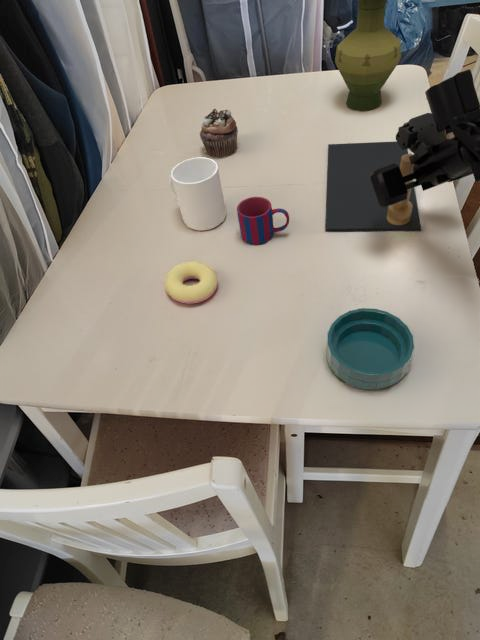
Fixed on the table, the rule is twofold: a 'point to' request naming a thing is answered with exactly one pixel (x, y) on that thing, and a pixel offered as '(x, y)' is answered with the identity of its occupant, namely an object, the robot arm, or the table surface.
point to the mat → (361, 188)
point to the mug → (198, 193)
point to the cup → (258, 220)
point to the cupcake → (219, 134)
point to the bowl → (369, 348)
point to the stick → (403, 209)
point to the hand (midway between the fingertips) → (399, 185)
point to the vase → (367, 56)
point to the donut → (196, 291)
